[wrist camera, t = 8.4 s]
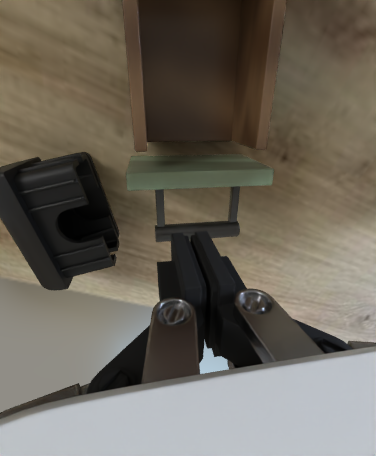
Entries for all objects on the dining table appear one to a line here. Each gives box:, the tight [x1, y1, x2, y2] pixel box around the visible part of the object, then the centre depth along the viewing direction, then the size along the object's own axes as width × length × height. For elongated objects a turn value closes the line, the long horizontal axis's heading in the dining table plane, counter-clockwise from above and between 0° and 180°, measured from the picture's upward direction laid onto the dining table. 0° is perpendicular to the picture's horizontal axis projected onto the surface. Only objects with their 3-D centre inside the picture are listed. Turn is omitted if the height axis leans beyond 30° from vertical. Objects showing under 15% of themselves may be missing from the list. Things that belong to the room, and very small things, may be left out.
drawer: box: [122, 0, 287, 242], centre depth 18 cm, size 19×10×7 cm, turn 0°
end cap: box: [0, 152, 119, 290], centre depth 21 cm, size 10×7×7 cm
